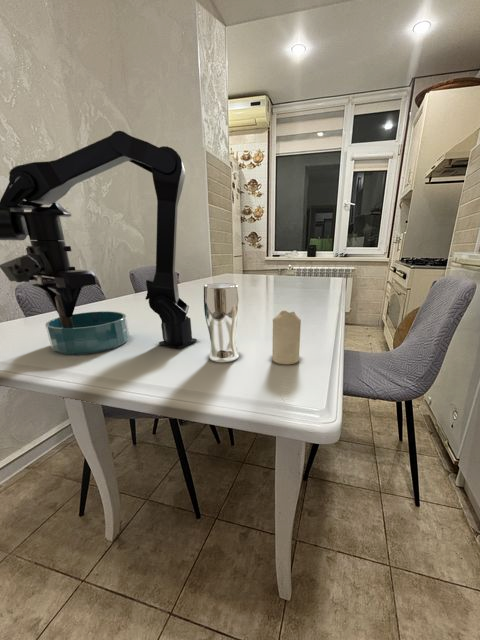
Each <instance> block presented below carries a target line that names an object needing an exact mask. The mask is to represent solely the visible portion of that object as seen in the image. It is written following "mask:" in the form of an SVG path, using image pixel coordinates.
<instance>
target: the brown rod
mask: <svg viewBox="0 0 480 640" xmlns="http://www.w3.org/2000/svg"><path fill="white" fill-rule="evenodd" d="M55 302H56V306H57V310H58V313H57V314H58V317H59V318H60V322H61V326H62V328H74V326H73V321H72V317H69V318H67V317H66V316H65V314H64V312H63V309H62V307H61V304H60V301H59V299H58V296H57V295H56V296H55Z"/></svg>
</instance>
